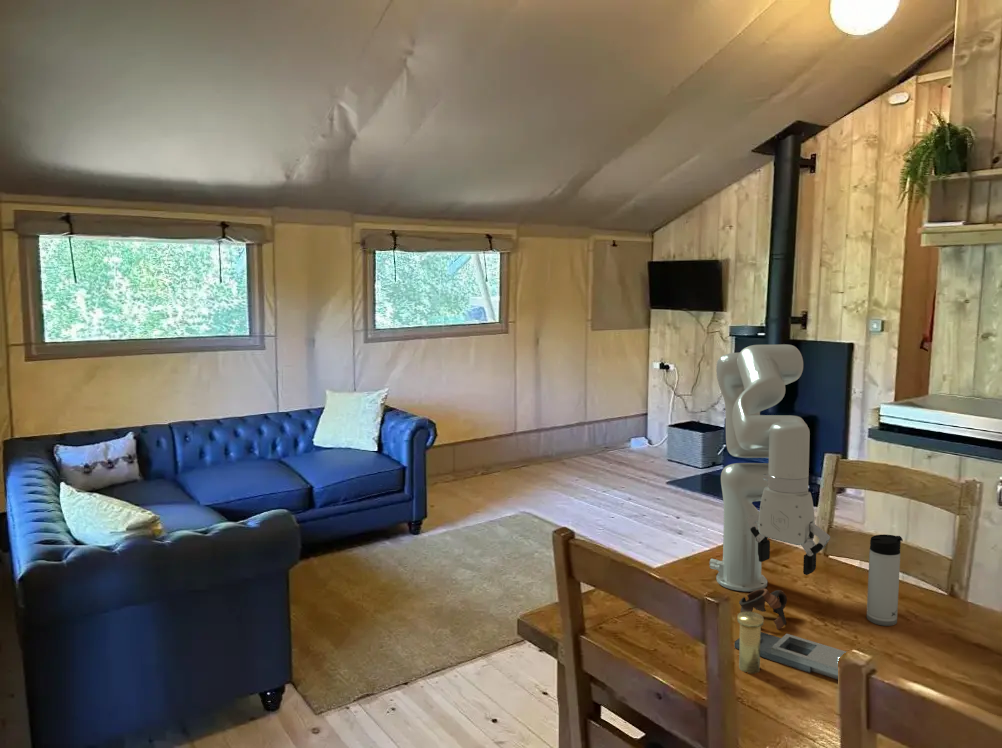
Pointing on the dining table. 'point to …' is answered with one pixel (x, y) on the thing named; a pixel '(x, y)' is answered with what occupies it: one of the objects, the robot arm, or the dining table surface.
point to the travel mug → (883, 579)
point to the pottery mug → (762, 595)
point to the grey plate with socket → (817, 654)
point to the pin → (749, 641)
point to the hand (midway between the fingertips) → (785, 566)
